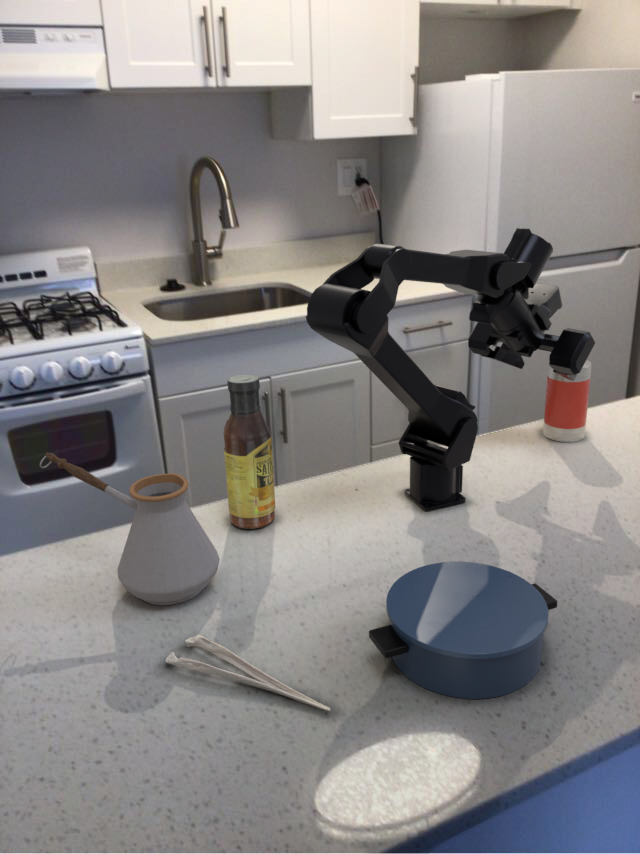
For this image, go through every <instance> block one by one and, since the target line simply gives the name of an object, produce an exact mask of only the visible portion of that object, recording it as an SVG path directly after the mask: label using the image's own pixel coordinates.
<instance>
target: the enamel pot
mask: <svg viewBox="0 0 640 854" xmlns="http://www.w3.org/2000/svg"><path fill="white" fill-rule="evenodd" d="M385 606H386V607H385V609H386V615H387V617H388V621H389V623H388V624H387V625H384V626H380V627H377V628H373V629H369V630H368V638H369V639H370V641H371V642H372V643H373V645H374V646H375V647H376V648H377V650H378V651H379V653H381V655H382V657H384V659H385V660H387V659H390V658H392V661H393V662H394V664H395V666H396V667H397V668H398V670H399V671H400V672H401V673H402V674H403V675H404V676H406V678H408V679H409V680H410V681H412V682H414V683H415V684H416V685H418V686H420V687H422V688H424V689H426V690H429V691H431V692H434V693H436V694H440V695H443V696H445V697H450V698H451V697H452V698H456V699H457V698H458V699H467V700H483V699H492V698H498V697H502V696H505V695H509V694H511V693H514V692H516V691H519V690H520V689H521V688H523V687H525V686H526V685H528V684H529V683H530V682H531V681H532V680H533V679H534V678H535V676H536V675H537V674H538V672H539V670H540V667H541V666H542V665H541V664H542V656H543V655H542V654H543V644H544V633H545V632H546V630H547V626H548V623H549V610H553V609H556V608H558V600H557V599H556V598H555V597H553V596H552V595H551V594H549V592H547V591H546V590H544V589H543V588H542V587H541V586H540V585H538V584H537V583H535V582H534V583H530V582H529V581H528V580H526V579H525V578H523V577H521V576H520V575H517V574H515V573H514V572H511V571H509V570H506V569H504V568H501V567H497V566H495V565H489V564H486V563H479V562H473V561H442V562H434V563H430V564H426V565H422V566H419V567H417V568H415V569H412V570H410V571H408V572H406V573H404V574H403V575H402V576H400V577H398V579H397V580H396V581H394V582H393V584H392V585H391V586H390V588H389V590H388V592H387V594H386V598H385Z"/></svg>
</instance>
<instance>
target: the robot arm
mask: <svg viewBox="0 0 640 854" xmlns="http://www.w3.org/2000/svg"><path fill="white" fill-rule="evenodd" d="M553 253H554V248H553V245H552V244H551V242H549V241H547V240H546V239H545V238H543V237H541V236H540V235H538V234H535V233H532V231H531V229H530V228H525V227H524V228H523V227H516V228H515V231H514V233H513V234H512V237H511V239H510V241H509V243H508V244H507V247H506V248H505V249H504V252H495V251H484V250H474V249H459V250H454V251H450V252H449V253H438V252H430V251H423V250H417V249H415V250H414V249H409V248H408V249H407V248H405V247H404V246H401V245H395V244H384V243H373V244H372V245H368V247H366V248H365V249H364V250H363V251H362V252H361V253H360V254H359V255H358V257H357V258H355V259H354V260H352V261H351V262H349V263H347V264H345V265H344V266H342V267H341V268H339V269H338V270H336V271H335V272H333V273H332V274H330V275H329V276H328V278H326V280H325V281H323V283H322V284H320V285H319V286H318V287H316V288H315V289H314V290H313V291H312V293H311V295H310V296H309V299H308V300H307V307H306V316H305V320H306V322H307V324H308V326H309V328H310V329H311V330H312V331H314V332H315V333H316V334H318V335H319V336H321V337H323V338H324V339H326V340H327V341H329V342H331V343H333V344H335V345H337V346H340V347H342V348H343V349H346V350H347V351H350V352H351V353H353V354H354V355H355V356H356V357H357V358H358V359H359V360H360V361H361V362H362V364H364V365H365V366H366V367H367V368H368V369H369V370H370V372H372V373H373V375H374V376H375V377H376V378H377V379H378V380H379V381H380V382H381V383H382V384H383V385H384V386H385V387H386V388H387V389H388V390H389V391H390V392H391V393H392V394H393V395H394V397H395V398H397V400H398V401H400V403H401V404H402V405H403V406H404V407H405V408H406V409H407V411H408V412H407V420H408V425H407V427H406V429H405V430H404V432H403V434H402V435H401V437H400V439H399V441H398V446H399V449H400V452H401V455H407V456H409V487H408V488H405V489H403V493H404V495H406V496H407V497H408V498H409V499H410V500H412V501H413V502H414V503H415V504H416V505H418V506H419V507H420V508H421V509H422V510H423V511H426V512H427V511H433V510H436V509H441V508H445V507H450V506H455V505H458V504H463V503H466V502H467V501H466V500H467V498H466V496H464V494H463V495H462V492H463V482H464V481H463V480H464V479H463V476H464V473H463V472H464V464H467V463H468V462H470V461H471V458H472V454H473V450H474V446H475V442H476V438H477V435H478V430H479V424H478V417H477V414H476V412H475V411H474V410H475V409H476V405H473V404H471V403H470V402H469V400H468V399H467V396H466V395H465V394H464V393H463V392H462V391H459V390H457V389H452V388H449V387H446V386H441V385H437V384H434V383H433V382H432V381H431V380H430V378H429V377H428V376H427V375H426V373H424V371H423V370H422V369H421V368H420V367H419V366H418V365H417V364H416V362H415V361H414V360H413V358H411V356H410V355H409V354H408V353H407V352H406V351H405V350H404V348H402V346H401V345H400V344H399V343H398V342H397V340H395V338H394V337H393V336H392V334H391V333H390V332H389V316H388V315H389V313H390V312H391V311H392V310H393V309H394V307H395V305H396V302H397V297H398V293H399V287H400V285H401V284H402V283H404V281H409V282H421V283H431V284H442V285H443V286H444V287H446V288H448V289H450V290H453V291H455V292H458V293H462V294H468V295H469V294H470V295H477V296H476V299H475V302H473V303H472V308H471V310H470V311H469V315H468V320H469V321H470V322H475V323H476V324H475V325H474V328H473V329H472V331H471V333H470V334H469V336H468V338H467V347H468V348H469V350H470V351H471V352H472V354H476V355H480V356H481V357H483V358H487V359H490V360H493V361H496V362H499V363H502V364H505V365H508V366H511V367H514V368H517V369H519V370H523V368H524V367H525V361H524V358H523V357H526V358H531V357H532V356H533V353H535V352H536V351H537V350H539V351H543V352H548V353H549V352H550V354H549V357H548V358H549V359H548V362H549V365H550V366H551V368H553V369H554V370H553V372H555V373H557V374H559V375H561V376H563V377H565V378H567V379H569V380H572V381H574V380H575V378H576V376H577V374H578V373H580V371H581V369H582V367H583V366H584V364H585V362H586V360H588V358H589V356H590V355H591V352H592V350H593V348H594V346H595V344H596V341H595V339H594V337H593V335H592V333H591V332H590V331H588V330H581V329H575V328H569V327H568V328H565V329H564V328H563V330H562V332H561V333H560V335H556V334H555V335H554V334H549V333H545V332H546V331H547V332H548V331H549V330H550V328H551V326H552V325H553V323H552V321H551V320H550V319H551V318H552V317H553V316H554V315H555V314H556V312H558V311H559V310H560V309H562V307H563V302H562V301H563V300H562V297H561V292H560V287H559V286H558V285H553V284H547V283H546V284H545V283H537V282H538V280H539V278H540V276H541V275H542V273H543V272H544V269H545V267H546V266H547V264H548V262H549V260H550V258H551V256H552V254H553ZM375 279H377V280H378V282H377V284H375V286H374V287H373V288H372V289H371V290H368V289H363V288H365V287H366V286H368V285H370V284H371V283H372V282H373V281H374V280H375ZM438 444H439V445H438ZM446 447H447V448H446Z"/></svg>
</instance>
